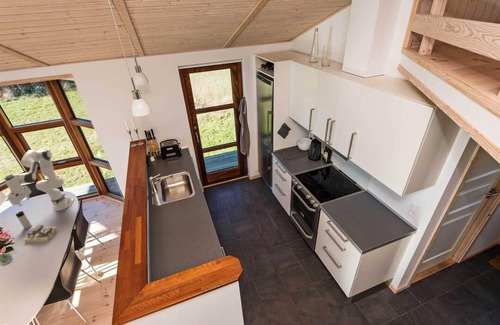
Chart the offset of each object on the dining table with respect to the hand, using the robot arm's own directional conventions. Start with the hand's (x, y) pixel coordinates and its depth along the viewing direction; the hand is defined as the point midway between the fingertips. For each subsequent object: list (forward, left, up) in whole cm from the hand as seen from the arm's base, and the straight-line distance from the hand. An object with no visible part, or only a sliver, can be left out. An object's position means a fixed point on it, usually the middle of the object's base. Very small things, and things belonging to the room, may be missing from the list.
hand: (24, 202), depth 237 cm
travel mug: (-8, -20, -39) cm, 45 cm away
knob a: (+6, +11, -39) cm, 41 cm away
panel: (+6, +4, -39) cm, 40 cm away
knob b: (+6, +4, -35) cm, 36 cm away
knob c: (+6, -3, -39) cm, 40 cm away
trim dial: (+12, +1, -35) cm, 37 cm away
